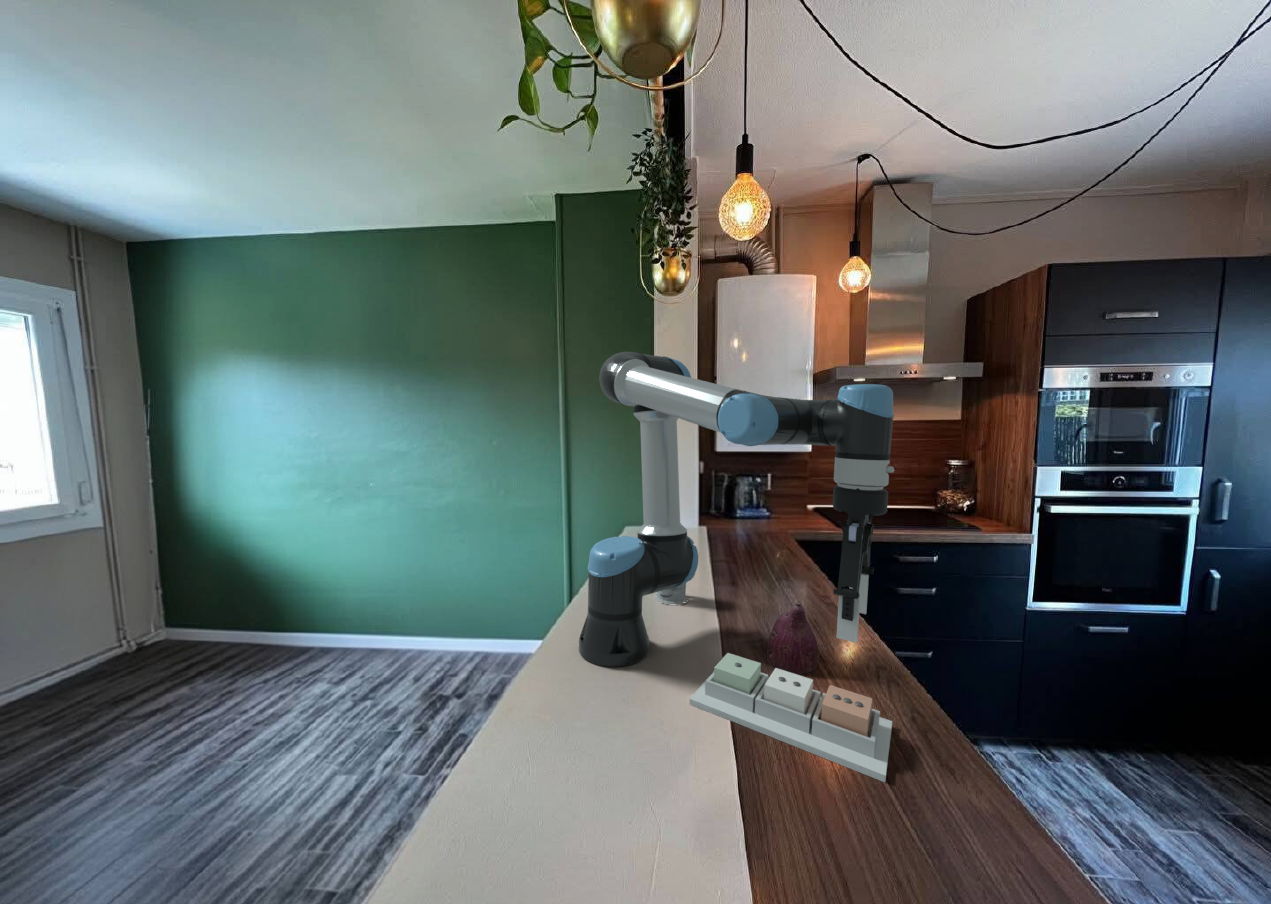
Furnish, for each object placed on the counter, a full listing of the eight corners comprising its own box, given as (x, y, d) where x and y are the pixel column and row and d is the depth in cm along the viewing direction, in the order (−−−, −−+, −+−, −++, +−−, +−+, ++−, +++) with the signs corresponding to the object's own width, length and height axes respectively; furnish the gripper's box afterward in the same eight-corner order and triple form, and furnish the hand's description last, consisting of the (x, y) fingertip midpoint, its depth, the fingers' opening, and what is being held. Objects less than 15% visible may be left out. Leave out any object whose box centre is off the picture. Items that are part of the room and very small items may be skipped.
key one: (713, 683, 80) (714, 666, 80) (727, 668, 85) (727, 651, 85) (748, 696, 76) (749, 678, 76) (760, 679, 82) (761, 662, 81)
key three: (821, 722, 70) (822, 703, 70) (828, 702, 75) (829, 683, 75) (866, 739, 66) (868, 718, 66) (871, 716, 72) (872, 697, 72)
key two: (763, 702, 75) (764, 683, 75) (774, 684, 80) (775, 666, 80) (803, 716, 71) (804, 697, 71) (812, 696, 77) (813, 678, 77)
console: (689, 704, 78) (690, 684, 78) (720, 668, 90) (721, 651, 90) (885, 782, 62) (886, 758, 62) (891, 727, 74) (893, 706, 73)
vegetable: (818, 690, 89) (837, 629, 84) (765, 677, 91) (780, 616, 86) (811, 653, 99) (828, 596, 94) (763, 641, 101) (777, 585, 96)
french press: (651, 592, 130) (653, 507, 129) (690, 591, 132) (693, 507, 130) (656, 605, 121) (659, 514, 119) (698, 605, 122) (701, 514, 120)
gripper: (882, 498, 57) (872, 664, 58) (893, 481, 77) (885, 605, 78) (819, 492, 61) (811, 648, 62) (845, 477, 81) (838, 595, 82)
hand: (852, 624), depth 70 cm, fingers open, 11 cm apart
